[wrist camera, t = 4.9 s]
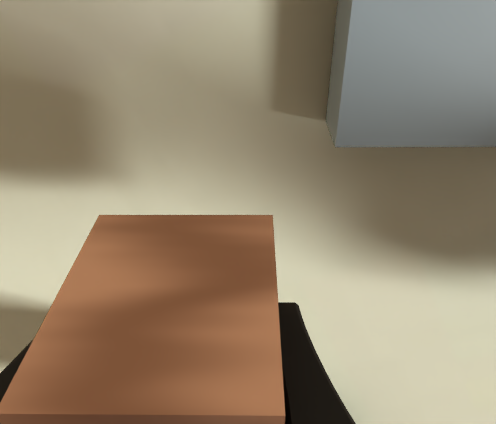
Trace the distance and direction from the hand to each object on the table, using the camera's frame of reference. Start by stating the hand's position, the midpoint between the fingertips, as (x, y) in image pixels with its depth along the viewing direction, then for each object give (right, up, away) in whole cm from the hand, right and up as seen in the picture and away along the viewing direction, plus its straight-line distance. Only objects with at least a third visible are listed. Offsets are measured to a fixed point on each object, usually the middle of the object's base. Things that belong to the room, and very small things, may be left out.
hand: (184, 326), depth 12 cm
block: (0, +1, +2) cm, 2 cm away
